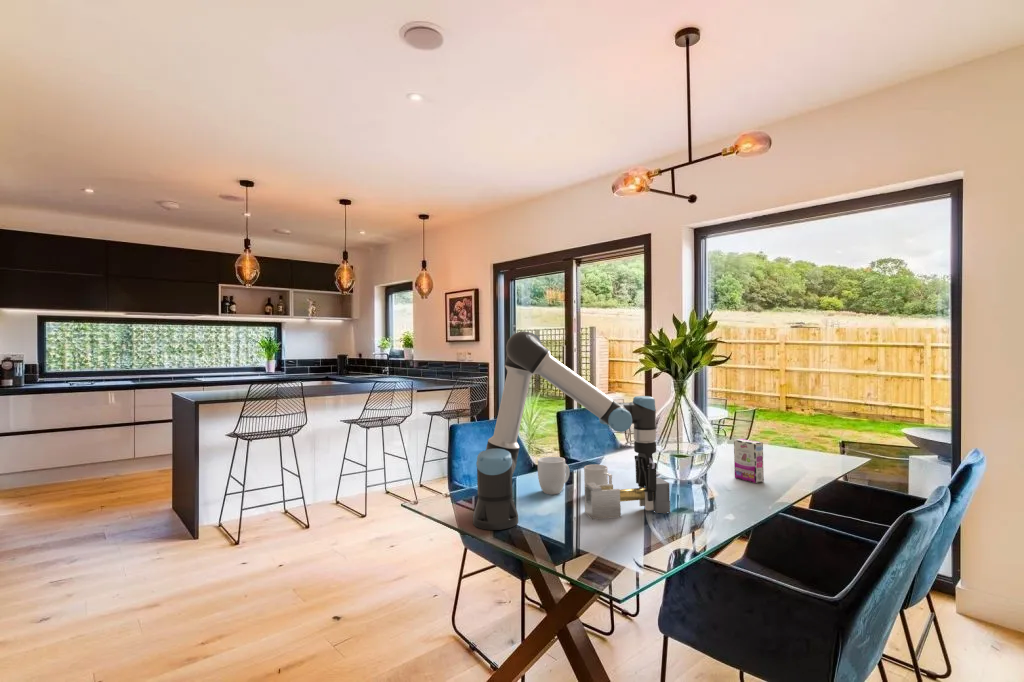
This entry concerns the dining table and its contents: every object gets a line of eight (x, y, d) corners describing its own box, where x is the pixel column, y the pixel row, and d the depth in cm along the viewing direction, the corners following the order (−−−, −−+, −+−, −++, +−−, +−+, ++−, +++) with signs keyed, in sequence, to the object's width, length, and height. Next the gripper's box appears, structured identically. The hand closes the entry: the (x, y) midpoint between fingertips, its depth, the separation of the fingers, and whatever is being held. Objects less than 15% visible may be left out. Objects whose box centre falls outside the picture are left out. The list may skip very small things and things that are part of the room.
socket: (656, 514, 184) (656, 484, 184) (646, 506, 192) (646, 478, 192) (670, 512, 185) (669, 483, 185) (659, 505, 193) (659, 477, 193)
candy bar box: (764, 482, 220) (763, 442, 220) (755, 483, 218) (755, 443, 218) (742, 476, 231) (741, 438, 231) (733, 477, 229) (733, 439, 229)
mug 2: (579, 495, 207) (579, 467, 207) (595, 491, 213) (594, 463, 213) (603, 502, 198) (603, 472, 198) (619, 497, 204) (618, 468, 204)
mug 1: (559, 485, 223) (558, 453, 223) (578, 490, 215) (577, 457, 215) (532, 492, 214) (531, 459, 214) (551, 498, 205) (550, 463, 205)
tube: (602, 504, 183) (602, 492, 183) (598, 501, 187) (598, 489, 187) (662, 500, 186) (662, 488, 186) (657, 496, 191) (657, 485, 191)
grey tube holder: (592, 519, 180) (591, 489, 180) (584, 512, 188) (584, 482, 188) (620, 517, 182) (620, 486, 182) (612, 509, 190) (611, 480, 190)
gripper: (666, 444, 180) (667, 514, 180) (644, 436, 197) (646, 499, 197) (645, 446, 178) (646, 516, 179) (625, 437, 195) (626, 501, 195)
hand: (646, 507), depth 188 cm, fingers closed on tube, 4 cm apart
